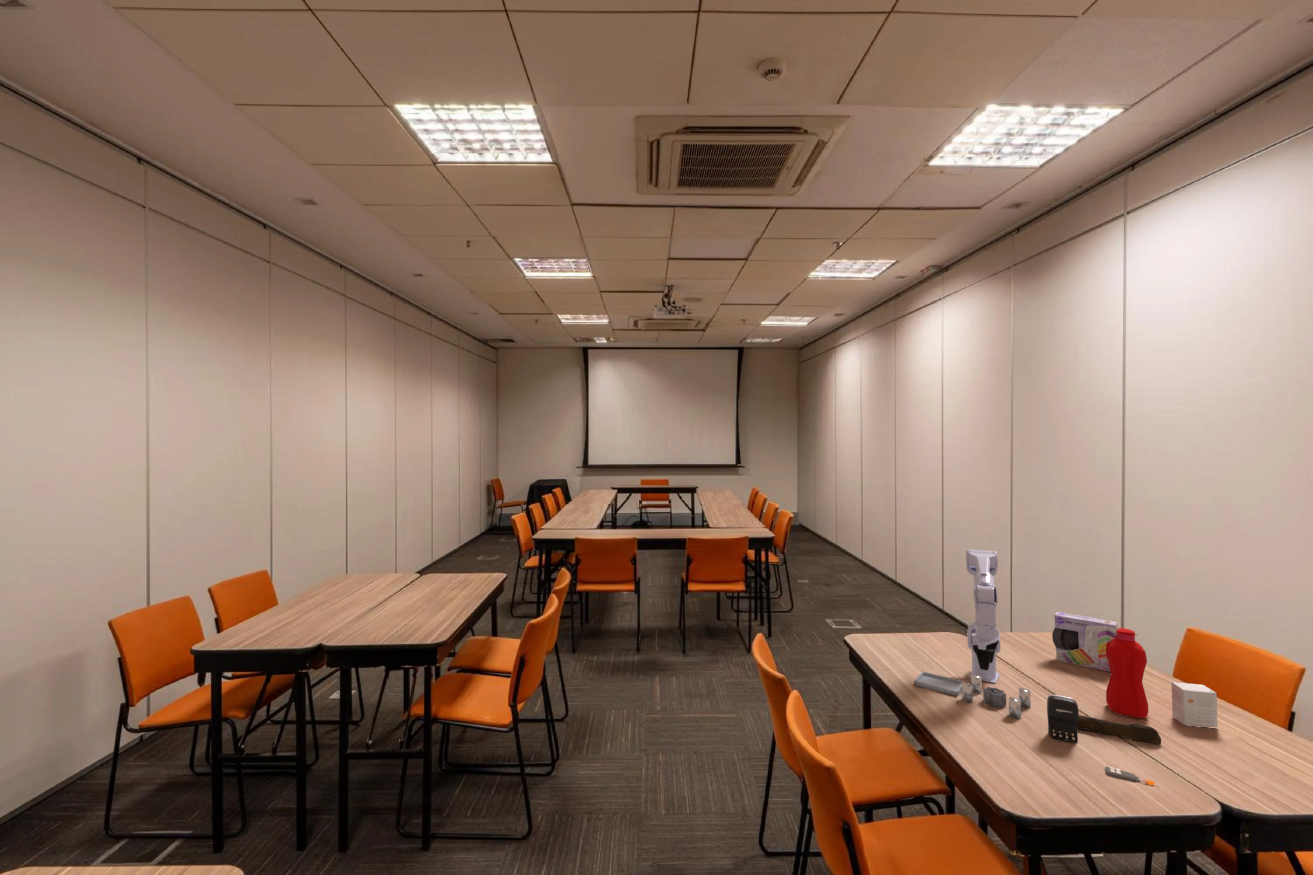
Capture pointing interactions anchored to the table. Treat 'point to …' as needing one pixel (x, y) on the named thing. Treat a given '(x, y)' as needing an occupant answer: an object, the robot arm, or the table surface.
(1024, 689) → the cylinder
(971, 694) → the cylinder
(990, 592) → the robot arm
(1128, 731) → the dark brown bar
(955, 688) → the tray
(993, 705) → the nut
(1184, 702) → the small box
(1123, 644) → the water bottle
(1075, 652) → the cake pan box
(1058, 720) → the battery charger
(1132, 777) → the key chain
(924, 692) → the table surface
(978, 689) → the cylinder
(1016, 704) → the cylinder
